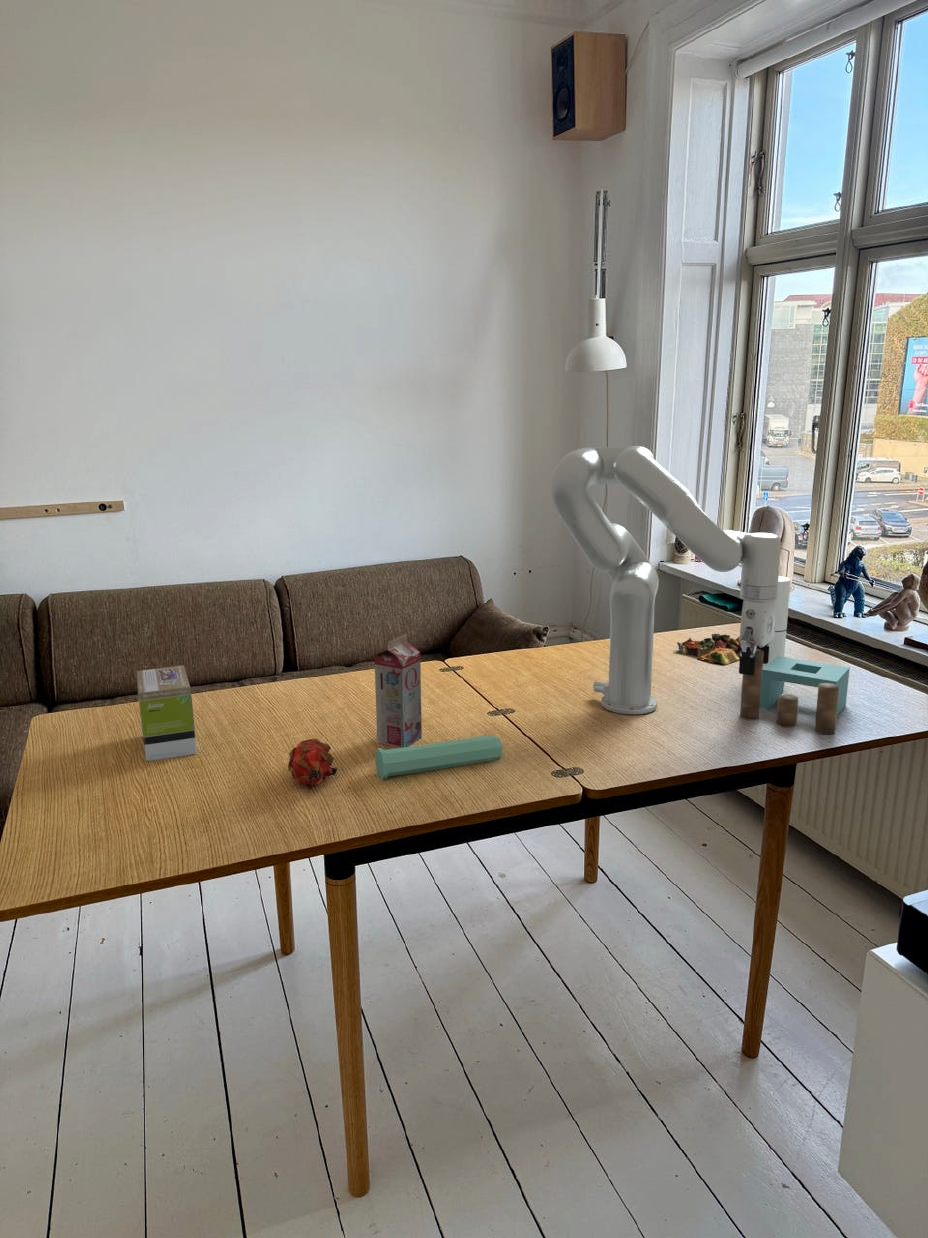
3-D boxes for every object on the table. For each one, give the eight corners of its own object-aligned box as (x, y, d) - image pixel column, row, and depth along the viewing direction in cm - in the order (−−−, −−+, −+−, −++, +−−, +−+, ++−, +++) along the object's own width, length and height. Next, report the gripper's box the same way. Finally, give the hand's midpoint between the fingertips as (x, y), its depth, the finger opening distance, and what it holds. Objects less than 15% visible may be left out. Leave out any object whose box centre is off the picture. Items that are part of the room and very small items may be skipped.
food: (715, 639, 266) (716, 627, 265) (773, 654, 252) (774, 641, 251) (667, 654, 252) (668, 641, 251) (726, 670, 238) (727, 657, 237)
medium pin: (812, 732, 195) (816, 687, 192) (817, 726, 198) (821, 681, 196) (832, 736, 193) (836, 690, 190) (837, 730, 196) (841, 685, 193)
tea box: (142, 736, 196) (135, 669, 192) (191, 729, 199) (185, 663, 195) (145, 762, 182) (137, 691, 178) (198, 755, 185) (192, 685, 182)
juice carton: (421, 738, 193) (419, 636, 188) (403, 748, 188) (401, 644, 182) (395, 732, 196) (392, 632, 191) (377, 742, 191) (373, 639, 185)
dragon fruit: (312, 774, 180) (320, 809, 169) (275, 756, 176) (280, 790, 165) (337, 740, 178) (347, 774, 168) (300, 721, 175) (307, 754, 164)
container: (498, 725, 184) (376, 742, 175) (509, 745, 179) (385, 764, 170) (492, 747, 187) (373, 764, 178) (503, 767, 183) (382, 786, 174)
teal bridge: (759, 707, 210) (762, 669, 207) (774, 692, 219) (777, 656, 217) (832, 721, 201) (836, 681, 199) (845, 705, 210) (849, 667, 208)
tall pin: (737, 717, 203) (742, 652, 200) (743, 712, 207) (747, 647, 203) (755, 721, 201) (760, 654, 198) (761, 715, 205) (766, 650, 201)
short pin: (774, 724, 199) (776, 698, 198) (779, 719, 202) (781, 693, 201) (793, 728, 197) (795, 701, 195) (798, 722, 200) (800, 696, 199)
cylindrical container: (786, 681, 227) (794, 581, 221) (756, 681, 227) (764, 581, 221) (777, 672, 234) (785, 575, 228) (748, 672, 234) (756, 575, 228)
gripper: (764, 601, 188) (758, 682, 192) (788, 585, 202) (782, 661, 206) (727, 597, 192) (723, 676, 196) (753, 582, 206) (749, 656, 210)
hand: (753, 668), depth 201 cm, fingers open, 9 cm apart
